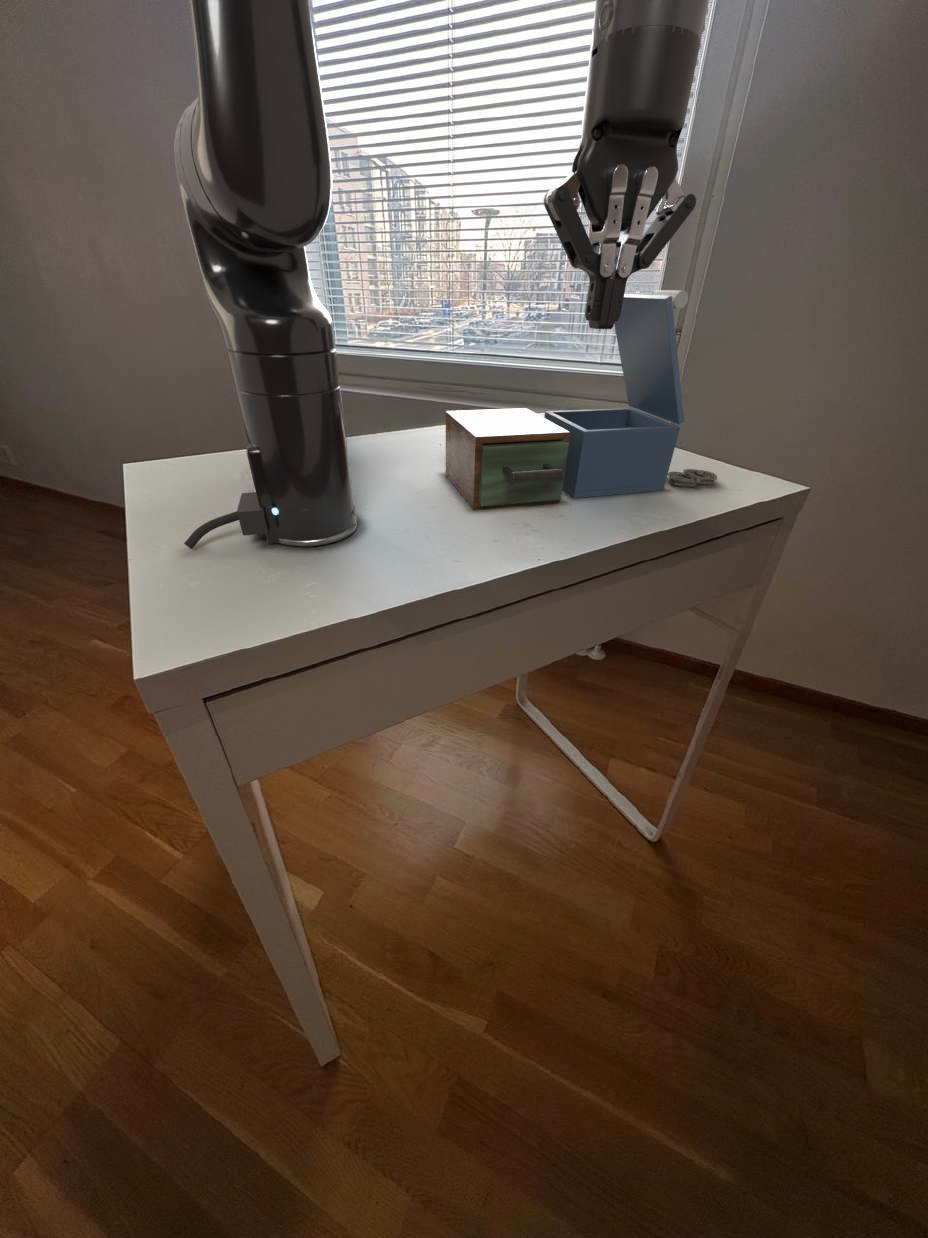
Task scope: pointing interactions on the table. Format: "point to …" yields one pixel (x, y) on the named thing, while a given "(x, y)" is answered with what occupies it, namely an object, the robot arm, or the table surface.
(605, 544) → the table surface
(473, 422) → the cabinet
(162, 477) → the table surface
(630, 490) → the chest
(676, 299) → the lid
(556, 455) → the drawer
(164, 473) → the table surface
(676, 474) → the corroded twin loop
